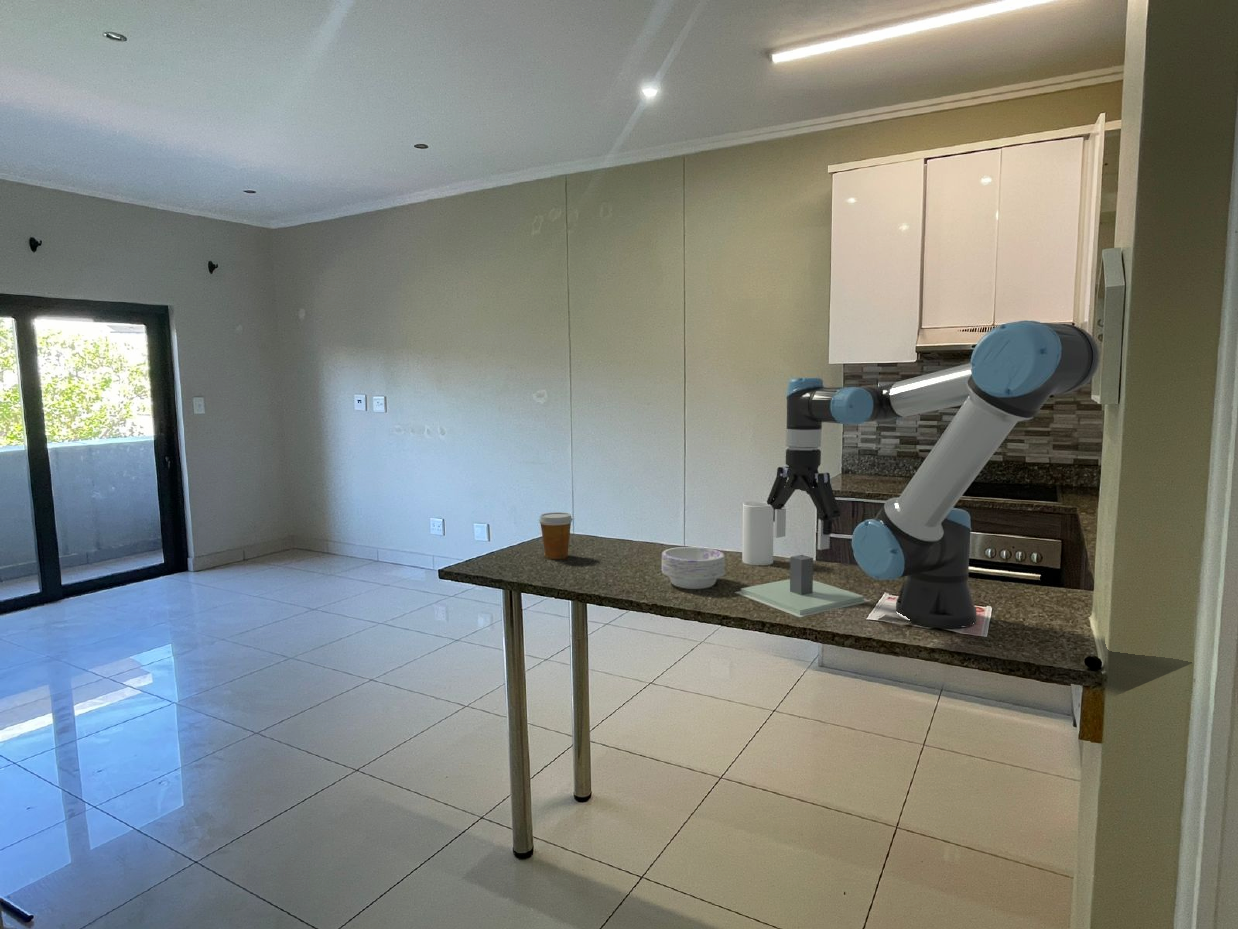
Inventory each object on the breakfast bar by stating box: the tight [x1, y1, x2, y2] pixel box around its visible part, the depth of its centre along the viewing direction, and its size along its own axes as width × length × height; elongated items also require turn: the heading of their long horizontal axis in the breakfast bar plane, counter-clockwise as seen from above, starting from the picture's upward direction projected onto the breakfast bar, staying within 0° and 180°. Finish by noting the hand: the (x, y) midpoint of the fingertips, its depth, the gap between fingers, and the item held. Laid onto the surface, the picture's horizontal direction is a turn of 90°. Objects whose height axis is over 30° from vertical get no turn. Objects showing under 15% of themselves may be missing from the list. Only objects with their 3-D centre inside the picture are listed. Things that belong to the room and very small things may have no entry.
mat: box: [734, 590, 871, 618], centre depth 161 cm, size 21×21×1 cm
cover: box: [740, 554, 865, 615], centre depth 160 cm, size 19×19×9 cm
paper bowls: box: [661, 546, 726, 590], centre depth 172 cm, size 15×15×8 cm
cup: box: [741, 501, 775, 566], centre depth 193 cm, size 8×8×16 cm
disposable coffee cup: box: [538, 512, 573, 560], centre depth 202 cm, size 10×10×12 cm
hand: (800, 542), depth 159 cm, fingers open, 13 cm apart
